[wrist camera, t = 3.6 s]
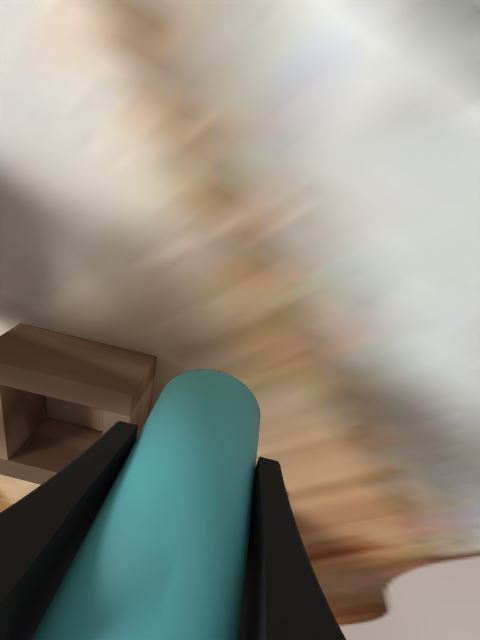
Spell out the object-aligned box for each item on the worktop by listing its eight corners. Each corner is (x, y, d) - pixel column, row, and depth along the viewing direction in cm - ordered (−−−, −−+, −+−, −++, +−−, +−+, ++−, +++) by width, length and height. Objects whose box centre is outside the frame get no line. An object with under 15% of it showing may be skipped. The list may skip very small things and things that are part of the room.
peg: (246, 462, 14) (209, 764, 7) (153, 437, 15) (22, 714, 7) (272, 385, 13) (256, 679, 6) (165, 357, 13) (12, 613, 6)
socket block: (143, 456, 26) (121, 504, 23) (27, 428, 26) (-13, 471, 23) (156, 357, 22) (131, 395, 19) (20, 323, 22) (-31, 355, 19)
